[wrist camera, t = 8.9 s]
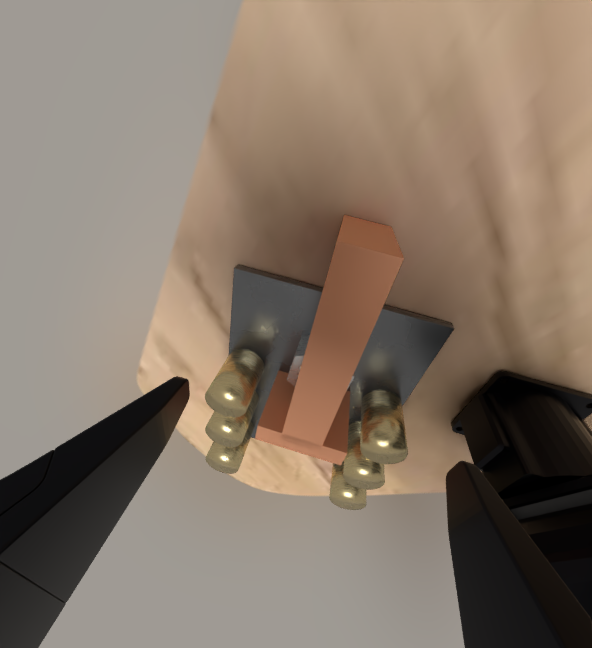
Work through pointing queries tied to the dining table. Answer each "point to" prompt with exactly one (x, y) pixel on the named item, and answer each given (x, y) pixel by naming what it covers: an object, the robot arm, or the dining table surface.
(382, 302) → the copper l-bar
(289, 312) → the plate
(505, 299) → the dining table surface
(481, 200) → the dining table surface
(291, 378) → the nut
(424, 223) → the dining table surface
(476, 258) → the dining table surface
